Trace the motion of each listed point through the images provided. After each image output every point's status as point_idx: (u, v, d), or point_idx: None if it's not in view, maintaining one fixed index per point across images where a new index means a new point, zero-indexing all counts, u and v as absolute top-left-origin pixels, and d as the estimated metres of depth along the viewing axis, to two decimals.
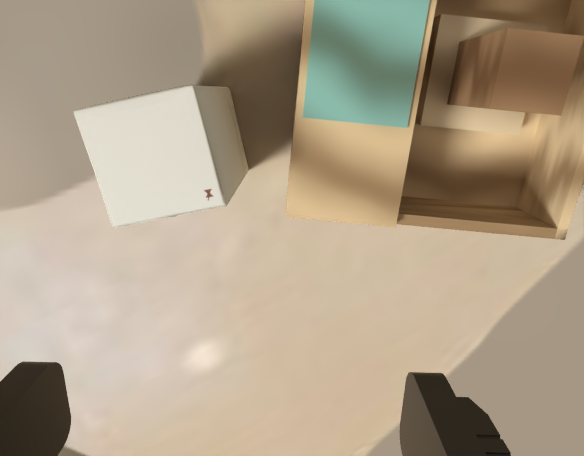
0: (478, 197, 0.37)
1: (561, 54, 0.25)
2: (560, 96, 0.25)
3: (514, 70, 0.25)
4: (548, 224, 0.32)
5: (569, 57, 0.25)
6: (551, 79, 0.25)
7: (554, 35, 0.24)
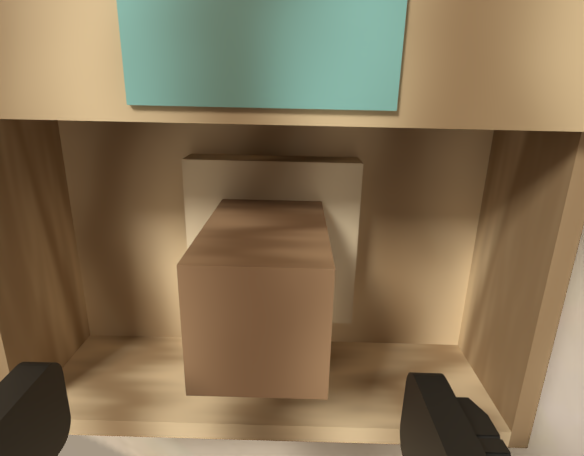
0: (91, 278, 0.22)
1: (293, 371, 0.13)
2: (219, 386, 0.13)
3: (255, 296, 0.12)
4: None
5: (289, 385, 0.13)
6: (248, 365, 0.13)
7: (325, 352, 0.13)
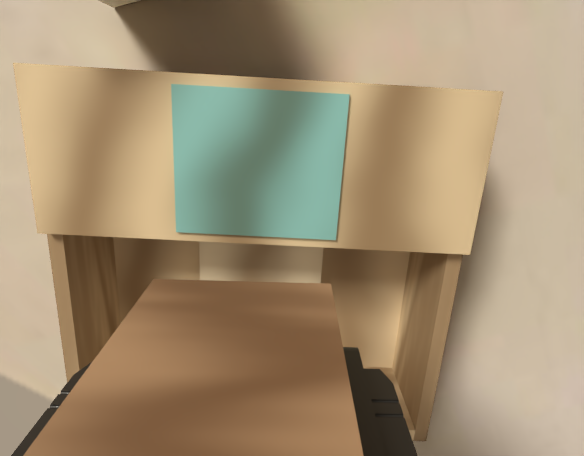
0: None
1: None
2: None
3: None
4: None
5: None
6: None
7: None
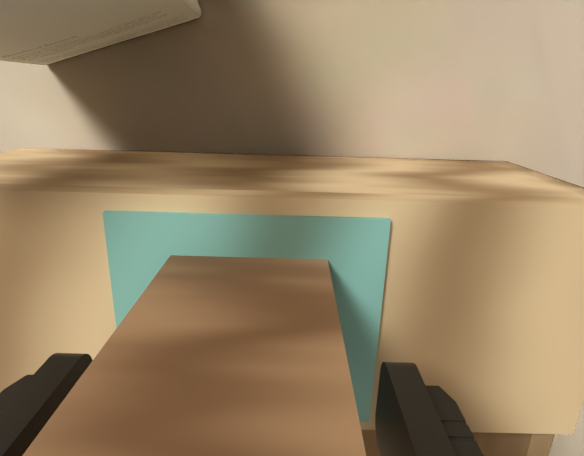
0: None
1: None
2: None
3: None
4: None
5: None
6: None
7: None
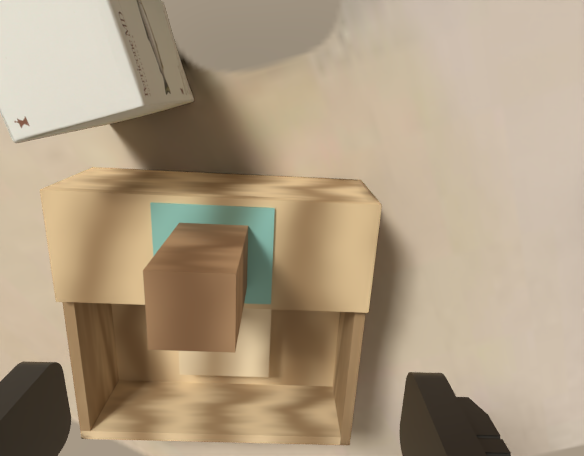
0: (121, 349, 0.39)
1: (213, 335, 0.22)
2: (169, 344, 0.22)
3: (190, 289, 0.21)
4: (95, 420, 0.35)
5: (211, 343, 0.22)
6: (186, 330, 0.21)
7: (232, 323, 0.21)
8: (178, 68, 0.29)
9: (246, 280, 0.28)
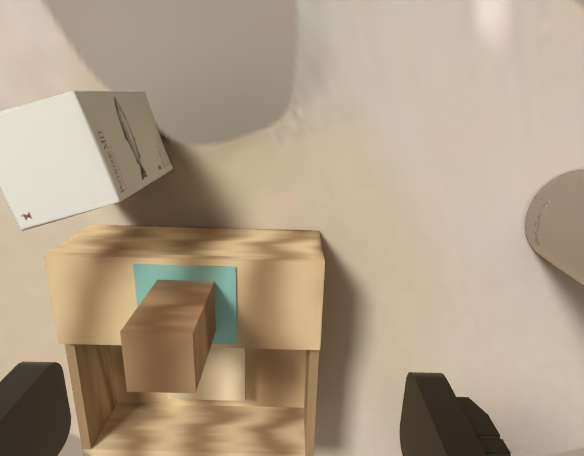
0: (118, 376, 0.45)
1: (178, 379, 0.27)
2: (143, 387, 0.27)
3: (157, 345, 0.26)
4: (95, 440, 0.41)
5: (176, 386, 0.27)
6: (156, 376, 0.27)
7: (192, 371, 0.27)
8: (156, 147, 0.35)
9: (214, 326, 0.34)
